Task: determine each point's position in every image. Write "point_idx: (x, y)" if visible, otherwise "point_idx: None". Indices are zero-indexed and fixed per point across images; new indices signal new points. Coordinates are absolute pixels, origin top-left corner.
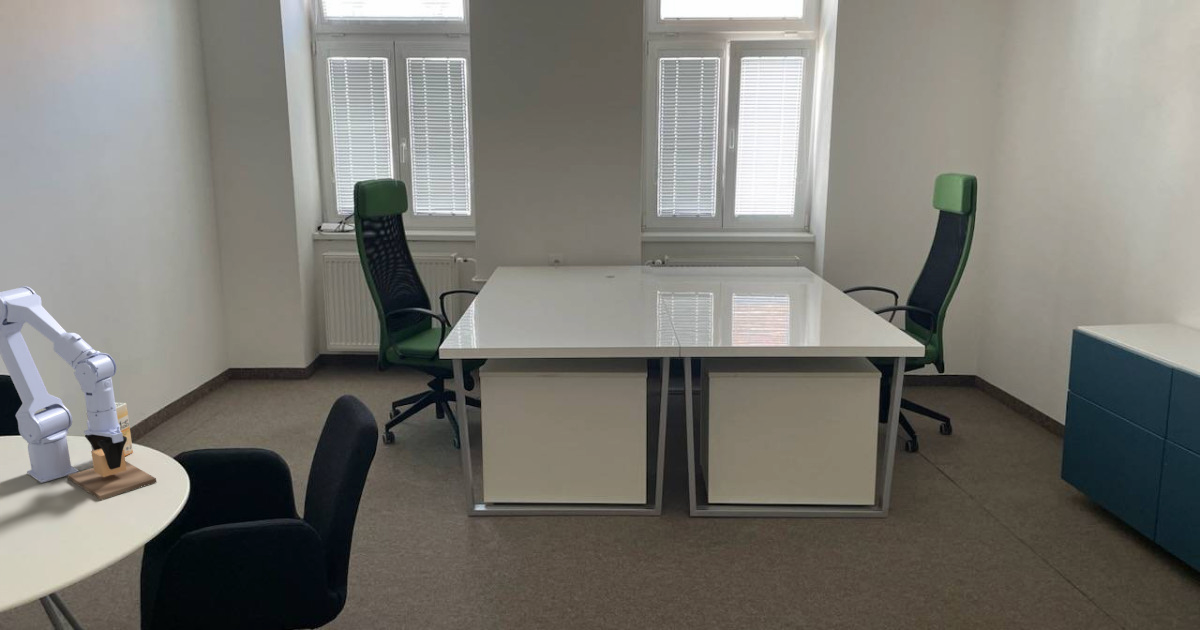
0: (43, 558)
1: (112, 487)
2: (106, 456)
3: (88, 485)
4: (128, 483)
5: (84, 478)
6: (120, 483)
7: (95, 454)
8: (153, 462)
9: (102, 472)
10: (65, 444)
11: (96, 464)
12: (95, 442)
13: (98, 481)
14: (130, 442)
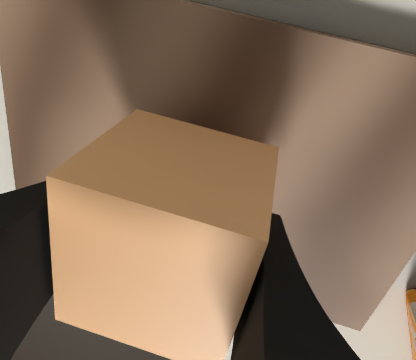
0: None
1: (56, 76)
2: (12, 196)
3: (203, 28)
4: (47, 144)
5: (336, 93)
6: (78, 129)
7: (166, 205)
8: (233, 337)
9: (127, 119)
10: None
11: (207, 160)
12: (252, 354)
13: (207, 100)
14: None
